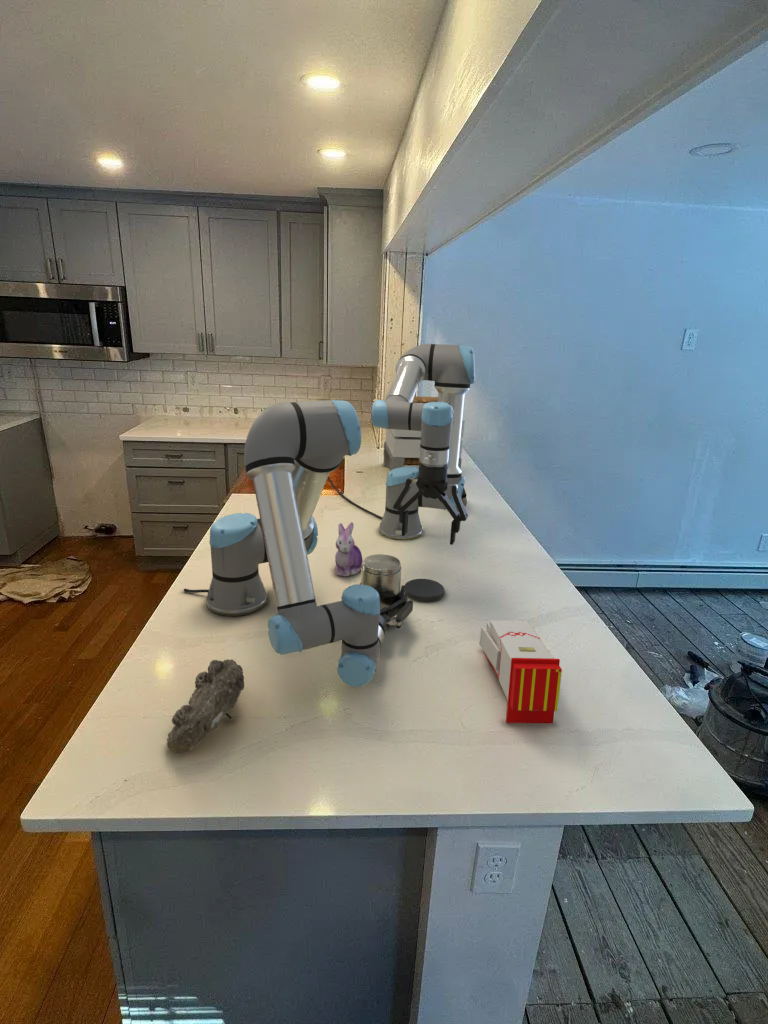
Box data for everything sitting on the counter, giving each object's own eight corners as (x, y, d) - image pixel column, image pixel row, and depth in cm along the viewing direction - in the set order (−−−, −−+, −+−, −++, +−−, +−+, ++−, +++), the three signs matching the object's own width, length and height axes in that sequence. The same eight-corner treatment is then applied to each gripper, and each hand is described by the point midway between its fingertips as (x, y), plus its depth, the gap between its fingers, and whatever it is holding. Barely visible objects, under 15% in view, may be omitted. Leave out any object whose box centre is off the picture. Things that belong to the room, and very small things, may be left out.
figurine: (340, 580, 164) (341, 532, 159) (327, 566, 172) (327, 519, 167) (369, 574, 168) (371, 527, 163) (355, 561, 177) (356, 515, 171)
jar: (379, 605, 152) (381, 550, 146) (406, 619, 145) (410, 562, 140) (351, 617, 145) (353, 560, 139) (379, 633, 138) (381, 574, 133)
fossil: (192, 660, 117) (244, 628, 112) (224, 691, 120) (276, 661, 115) (142, 746, 98) (202, 712, 93) (182, 779, 101) (242, 748, 96)
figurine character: (467, 515, 225) (461, 499, 238) (469, 498, 221) (463, 482, 235) (450, 514, 224) (445, 498, 238) (452, 497, 221) (447, 482, 234)
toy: (526, 605, 135) (570, 665, 105) (521, 658, 137) (563, 730, 108) (475, 604, 134) (506, 664, 105) (472, 657, 137) (500, 729, 108)
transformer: (382, 463, 289) (386, 382, 275) (445, 464, 293) (451, 384, 279) (390, 482, 257) (394, 392, 243) (460, 483, 261) (468, 394, 247)
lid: (404, 601, 154) (404, 596, 154) (403, 582, 165) (404, 577, 164) (445, 603, 154) (445, 598, 153) (442, 584, 165) (442, 579, 164)
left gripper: (318, 641, 129) (339, 596, 149) (417, 654, 126) (425, 605, 147) (318, 612, 126) (340, 570, 147) (419, 624, 123) (427, 579, 144)
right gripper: (383, 460, 147) (380, 535, 155) (478, 474, 139) (470, 552, 147) (393, 453, 154) (389, 525, 162) (484, 466, 146) (476, 541, 154)
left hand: (382, 587), depth 147 cm, fingers closed on jar, 10 cm apart
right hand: (428, 538), depth 154 cm, fingers open, 13 cm apart
